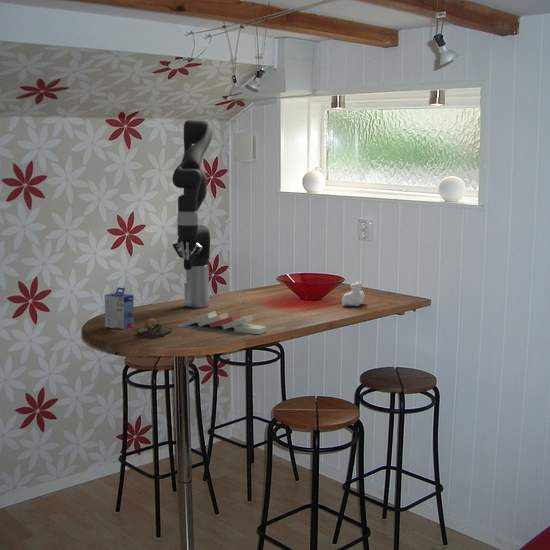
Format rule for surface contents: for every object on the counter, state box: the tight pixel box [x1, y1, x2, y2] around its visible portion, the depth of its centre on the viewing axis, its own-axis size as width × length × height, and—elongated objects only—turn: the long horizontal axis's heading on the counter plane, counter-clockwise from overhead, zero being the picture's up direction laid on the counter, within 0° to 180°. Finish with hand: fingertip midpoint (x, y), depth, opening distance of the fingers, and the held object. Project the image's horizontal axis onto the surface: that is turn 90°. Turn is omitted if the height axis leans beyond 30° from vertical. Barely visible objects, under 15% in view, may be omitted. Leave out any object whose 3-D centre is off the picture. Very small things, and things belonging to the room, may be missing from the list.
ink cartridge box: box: [104, 287, 135, 330], centre depth 275 cm, size 10×6×14 cm, turn 58°
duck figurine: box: [341, 281, 366, 307], centre depth 314 cm, size 12×8×11 cm
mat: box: [176, 321, 249, 336], centre depth 274 cm, size 29×11×1 cm, turn 62°
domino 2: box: [198, 312, 229, 327], centre depth 275 cm, size 2×5×10 cm
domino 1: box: [186, 310, 218, 325], centre depth 277 cm, size 2×5×10 cm
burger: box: [136, 317, 172, 339], centre depth 266 cm, size 12×12×8 cm
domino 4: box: [235, 323, 267, 335], centre depth 268 cm, size 2×5×10 cm
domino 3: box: [222, 314, 255, 329], centre depth 270 cm, size 2×5×10 cm
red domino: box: [209, 313, 241, 328], centre depth 272 cm, size 2×5×10 cm
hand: (187, 269), depth 283 cm, fingers closed
